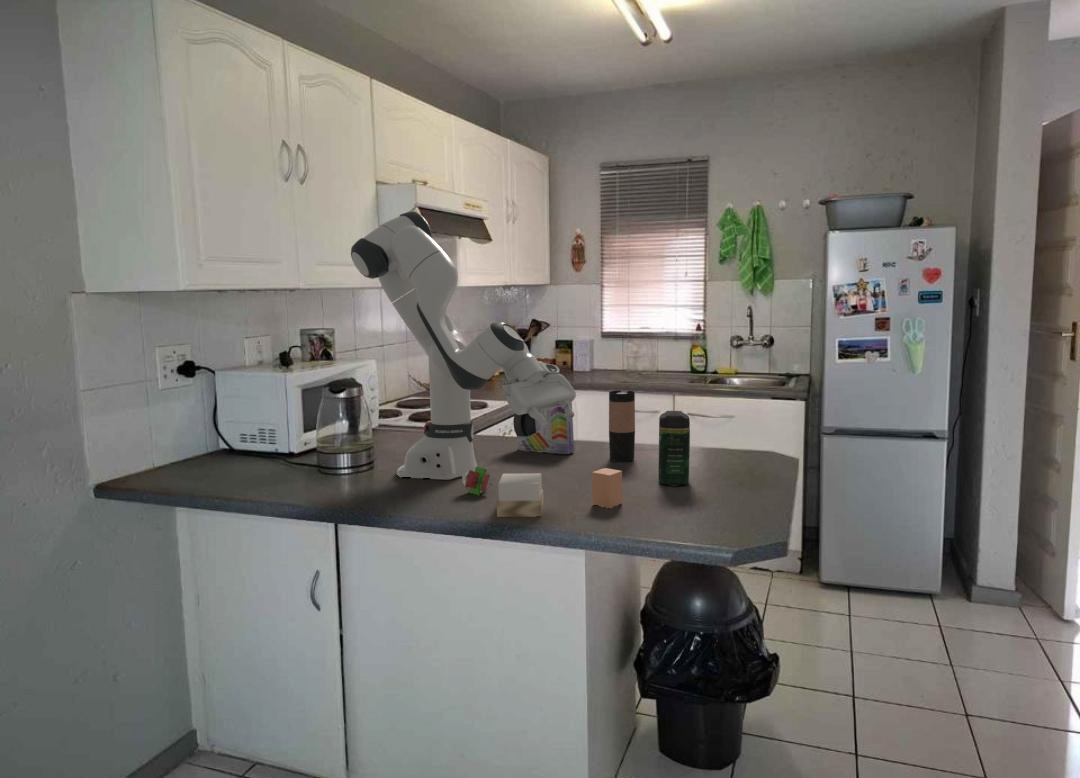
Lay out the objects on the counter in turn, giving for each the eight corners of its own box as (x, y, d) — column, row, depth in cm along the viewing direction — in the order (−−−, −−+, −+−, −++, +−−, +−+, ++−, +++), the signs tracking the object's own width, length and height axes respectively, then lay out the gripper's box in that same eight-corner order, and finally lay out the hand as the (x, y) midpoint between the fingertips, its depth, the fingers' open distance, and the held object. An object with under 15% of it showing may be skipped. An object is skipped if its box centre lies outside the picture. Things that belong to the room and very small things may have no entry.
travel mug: (618, 463, 219) (618, 394, 216) (604, 458, 226) (603, 391, 223) (640, 460, 223) (640, 392, 220) (625, 455, 229) (625, 389, 226)
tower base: (497, 518, 171) (496, 501, 171) (501, 505, 181) (501, 489, 181) (541, 518, 171) (541, 501, 170) (543, 505, 181) (543, 489, 180)
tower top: (499, 500, 171) (498, 483, 171) (503, 490, 180) (503, 473, 180) (538, 500, 171) (538, 483, 170) (541, 489, 179) (541, 473, 179)
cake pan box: (513, 450, 239) (511, 394, 236) (521, 447, 243) (520, 392, 240) (567, 456, 229) (566, 398, 227) (575, 452, 234) (574, 396, 231)
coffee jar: (690, 487, 193) (691, 415, 190) (658, 486, 194) (658, 414, 191) (688, 477, 202) (689, 408, 199) (658, 477, 203) (658, 408, 201)
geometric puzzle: (485, 478, 196) (469, 457, 192) (502, 483, 191) (486, 461, 187) (468, 499, 193) (452, 478, 189) (485, 504, 188) (468, 483, 184)
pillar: (592, 505, 179) (592, 472, 178) (604, 500, 182) (604, 467, 181) (609, 509, 176) (609, 475, 174) (622, 504, 179) (622, 470, 178)
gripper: (503, 374, 180) (535, 418, 174) (561, 365, 194) (591, 406, 189) (491, 391, 183) (522, 435, 178) (549, 381, 198) (578, 421, 193)
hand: (558, 420), depth 184 cm, fingers open, 8 cm apart
